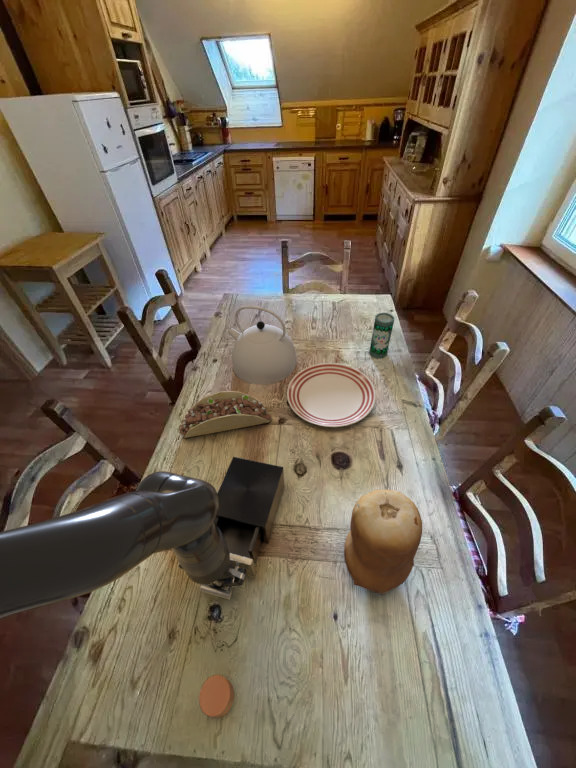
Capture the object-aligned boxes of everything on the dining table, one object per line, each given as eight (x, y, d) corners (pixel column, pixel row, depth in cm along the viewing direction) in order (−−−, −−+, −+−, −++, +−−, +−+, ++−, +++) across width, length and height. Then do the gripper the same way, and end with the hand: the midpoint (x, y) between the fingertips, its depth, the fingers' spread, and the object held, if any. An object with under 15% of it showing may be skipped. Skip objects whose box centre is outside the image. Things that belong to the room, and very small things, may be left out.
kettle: (215, 373, 118) (201, 318, 102) (245, 336, 133) (237, 283, 117) (281, 391, 111) (277, 335, 95) (305, 350, 126) (305, 295, 110)
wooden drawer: (245, 609, 67) (240, 599, 62) (192, 593, 69) (183, 582, 64) (272, 516, 80) (270, 501, 75) (227, 505, 83) (222, 490, 77)
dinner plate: (299, 441, 96) (299, 434, 94) (279, 377, 116) (278, 370, 113) (389, 422, 100) (391, 415, 98) (355, 363, 120) (356, 356, 117)
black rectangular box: (268, 544, 77) (265, 527, 70) (216, 530, 79) (208, 513, 73) (284, 486, 87) (283, 466, 80) (238, 476, 89) (233, 456, 83)
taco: (274, 430, 100) (271, 407, 92) (180, 448, 96) (170, 425, 89) (268, 406, 106) (266, 383, 99) (180, 422, 103) (171, 399, 96)
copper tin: (238, 706, 58) (234, 704, 54) (210, 724, 56) (204, 724, 53) (228, 671, 61) (224, 668, 57) (201, 688, 59) (195, 686, 56)
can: (368, 357, 122) (375, 321, 111) (369, 346, 126) (375, 311, 116) (386, 359, 121) (394, 323, 110) (386, 348, 125) (394, 313, 114)
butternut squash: (359, 521, 80) (374, 462, 62) (415, 555, 74) (449, 501, 56) (329, 575, 72) (337, 524, 54) (389, 618, 66) (420, 577, 48)
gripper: (154, 564, 54) (181, 595, 66) (232, 586, 52) (245, 614, 64) (176, 519, 59) (198, 555, 71) (248, 537, 57) (258, 572, 69)
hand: (220, 583), depth 68 cm, fingers closed
